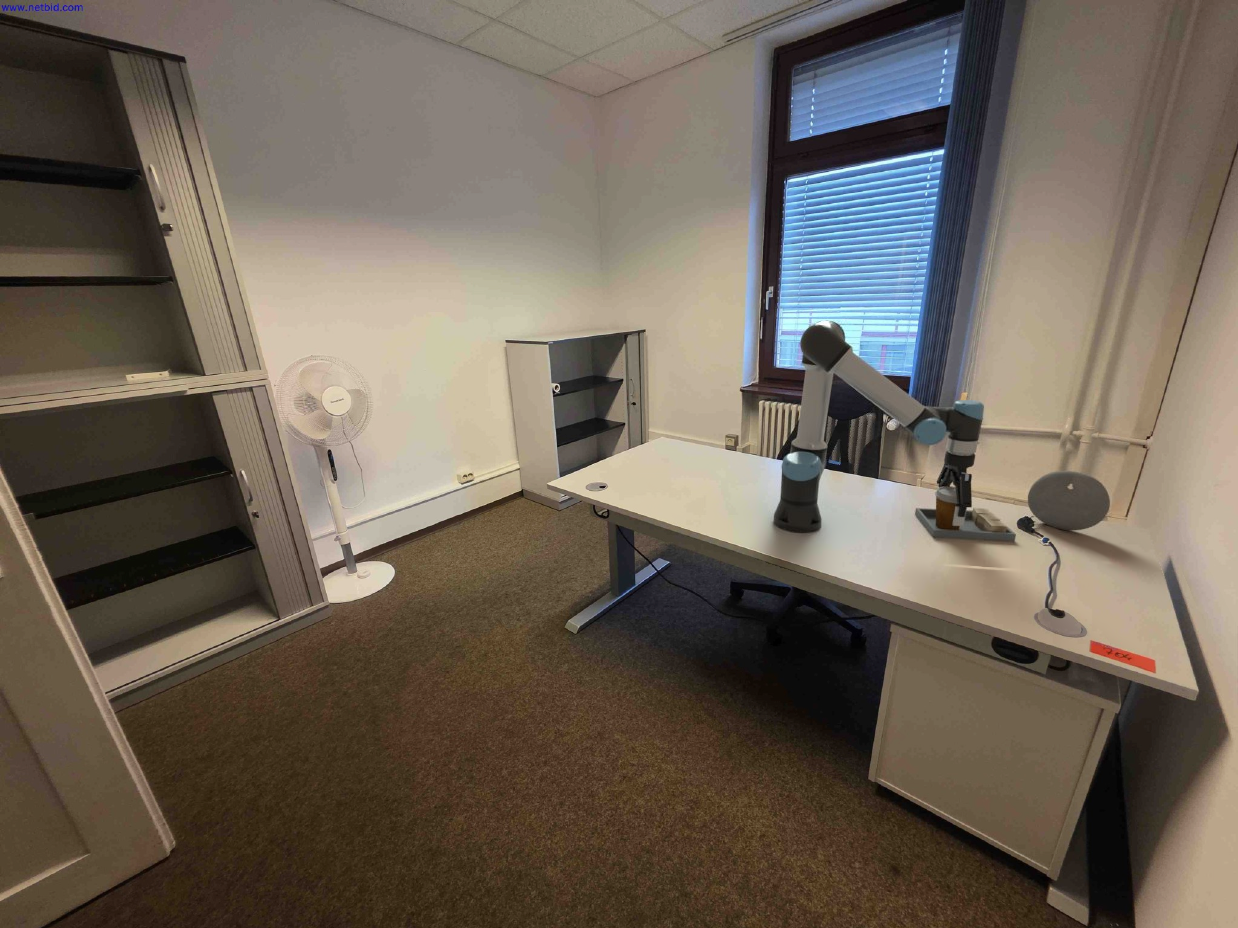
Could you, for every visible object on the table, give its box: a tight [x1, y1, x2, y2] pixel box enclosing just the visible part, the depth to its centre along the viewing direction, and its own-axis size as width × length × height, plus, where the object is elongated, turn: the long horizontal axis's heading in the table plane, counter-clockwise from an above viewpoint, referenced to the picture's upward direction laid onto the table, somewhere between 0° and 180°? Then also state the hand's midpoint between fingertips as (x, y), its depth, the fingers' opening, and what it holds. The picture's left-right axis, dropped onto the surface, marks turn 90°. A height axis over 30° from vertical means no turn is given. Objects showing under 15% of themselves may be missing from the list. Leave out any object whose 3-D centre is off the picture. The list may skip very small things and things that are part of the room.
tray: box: [914, 507, 1017, 543], centre depth 154 cm, size 22×17×3 cm
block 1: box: [971, 507, 993, 524], centre depth 157 cm, size 4×4×4 cm
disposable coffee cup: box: [934, 486, 960, 530], centre depth 154 cm, size 10×10×12 cm
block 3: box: [983, 520, 1008, 533], centre depth 148 cm, size 4×4×4 cm
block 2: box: [976, 513, 1001, 530], centre depth 152 cm, size 4×4×4 cm
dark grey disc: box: [1027, 470, 1111, 531], centre depth 149 cm, size 18×7×19 cm, turn 44°
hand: (948, 516), depth 154 cm, fingers open, 13 cm apart
